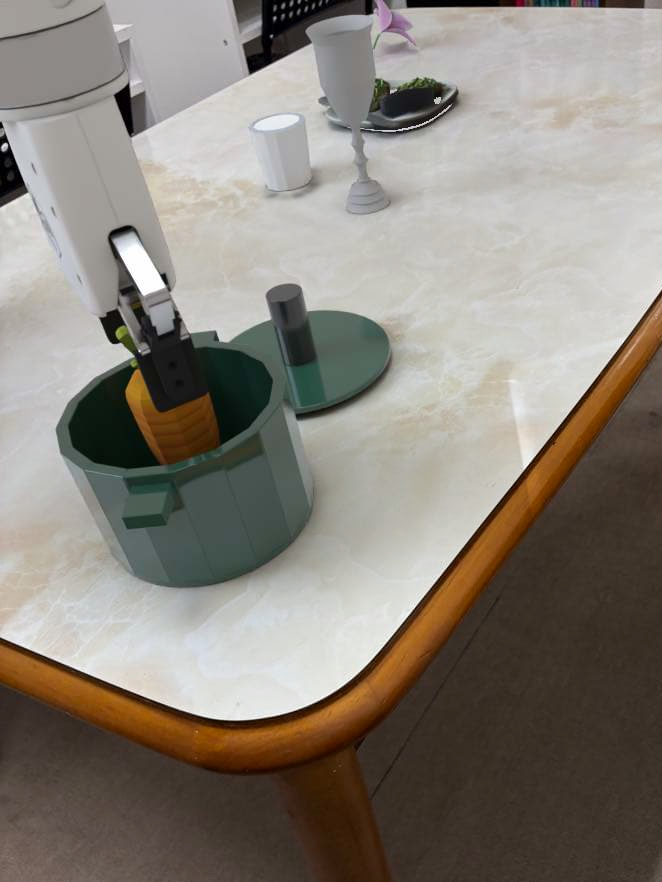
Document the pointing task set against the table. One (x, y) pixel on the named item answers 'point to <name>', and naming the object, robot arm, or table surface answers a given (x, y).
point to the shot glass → (282, 150)
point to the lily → (391, 21)
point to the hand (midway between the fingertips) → (156, 366)
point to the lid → (318, 349)
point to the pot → (193, 473)
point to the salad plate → (402, 104)
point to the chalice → (350, 92)
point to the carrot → (170, 419)
